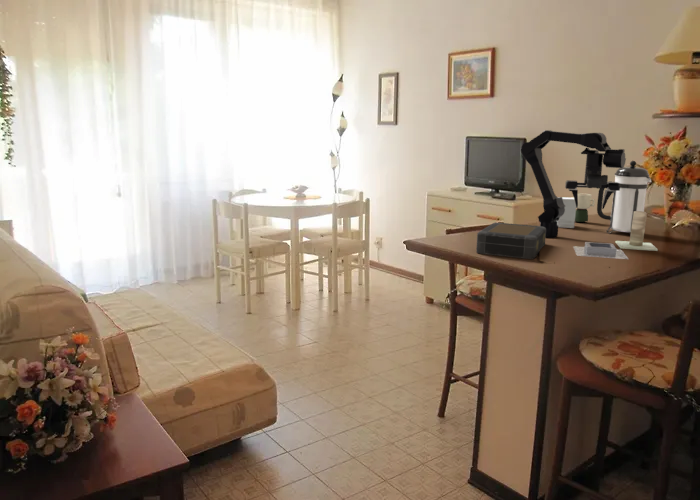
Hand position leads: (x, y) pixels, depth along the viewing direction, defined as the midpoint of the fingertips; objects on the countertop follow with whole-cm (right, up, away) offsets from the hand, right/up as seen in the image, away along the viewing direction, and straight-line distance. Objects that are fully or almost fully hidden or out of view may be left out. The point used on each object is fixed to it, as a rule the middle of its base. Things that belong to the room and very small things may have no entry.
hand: (589, 208), depth 220 cm
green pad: (+13, -15, -9) cm, 22 cm away
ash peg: (+13, -14, -9) cm, 21 cm away
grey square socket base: (-5, -18, -20) cm, 27 cm away
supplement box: (+4, -6, +36) cm, 37 cm away
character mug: (+16, -3, +48) cm, 51 cm away
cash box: (-34, -16, -13) cm, 40 cm away
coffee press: (+22, -9, +22) cm, 32 cm away
